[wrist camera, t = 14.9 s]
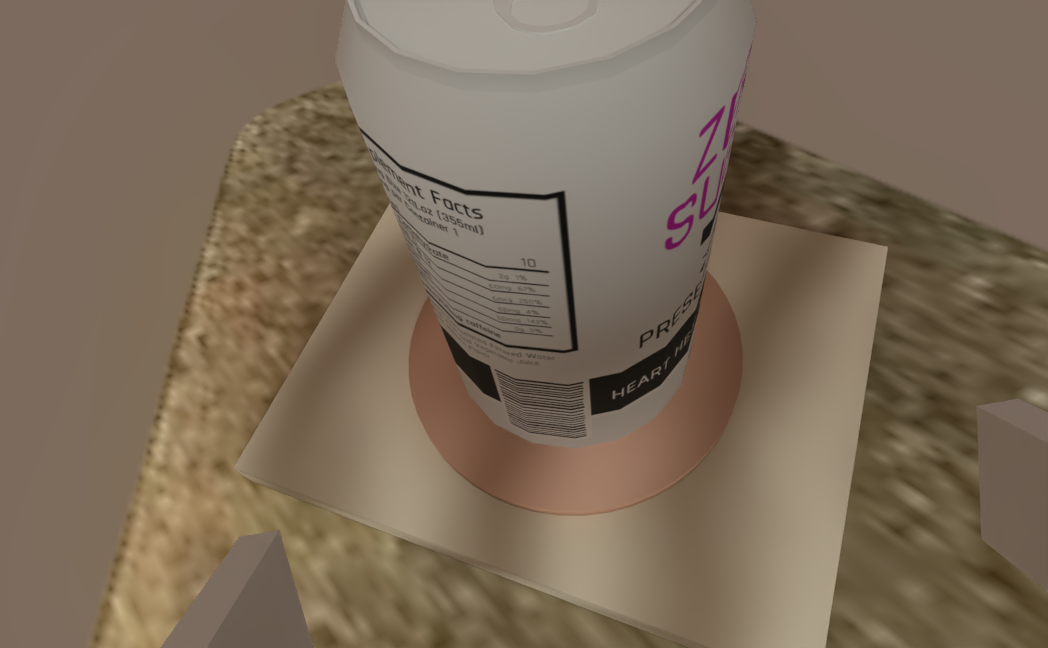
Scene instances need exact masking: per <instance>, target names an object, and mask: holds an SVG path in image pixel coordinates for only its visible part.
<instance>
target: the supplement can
mask: <svg viewBox="0 0 1048 648" xmlns="http://www.w3.org/2000/svg"><path fill="white" fill-rule="evenodd" d="M755 26H756V18H755V15H754V11H753V7H752V3H751V0H346V3H345V9H344V14H343V20H342V25H341V31H340V36H339V41H338V47H337V53H336V58H335V62H336V65H337V67H338V71H339V73H340V76H341V79H342V82H343V85H344V88H345V91H346V94H347V97H348V100H349V103H350V106H351V108H352V111H353V113H354V116H355V118H356V121H357V123H358V126H359V128H360V130H361V133H362V135H363V138H364V140H365V143H366V145H367V148H368V150H369V152H370V155H371V157H372V160H373V162H374V165H375V167H376V170H377V172H378V174H379V177H380V179H381V182H382V184H383V187H384V189H385V192H386V194H387V196H388V199H389V201H390V204H391V206H392V209H393V211H394V214H395V216H396V218H397V221H398V223H399V226H400V228H401V231H402V233H403V236H404V238H405V240H406V243H407V245H408V248H409V250H410V253H411V255H412V258H413V260H414V262H415V265H416V267H417V270H418V272H419V275H420V277H421V280H422V282H423V284H424V287H425V289H426V292H427V294H428V297H429V299H430V302H431V304H432V306H433V309H434V311H435V314H436V316H437V319H438V321H439V324H440V326H441V328H442V331H443V333H444V336H445V338H446V341H447V343H448V346H449V348H450V350H451V353H452V355H453V358H454V360H455V363H456V365H457V368H458V370H459V372H460V375H461V377H462V380H463V382H464V385H465V387H466V390H467V392H468V394H469V396H470V397H471V398H472V399H473V400H474V402H475V403H476V404H477V405H478V406H479V407H480V408H481V409H482V410H483V412H484V413H485V414H486V415H487V416H488V417H489V418H490V419H491V420H492V421H493V423H494V424H496V425H498V426H500V427H502V428H504V429H506V430H507V431H509V432H511V433H513V434H515V435H517V436H519V437H521V438H523V439H525V440H527V441H529V442H531V443H536V444H544V445H552V446H560V447H567V448H575V449H576V448H581V447H586V446H591V445H596V444H600V443H605V442H610V441H615V440H620V439H621V438H623V437H624V436H626V435H628V434H629V433H631V432H633V431H634V430H636V429H638V428H639V427H641V426H643V425H644V424H646V423H648V422H649V421H651V420H653V419H654V418H656V417H657V416H658V414H659V413H660V412H661V411H662V409H663V408H664V407H665V406H666V404H667V403H668V402H669V400H670V399H671V398H672V397H673V395H674V394H675V393H676V391H677V390H678V389H679V388H680V386H681V384H682V381H683V377H684V373H685V370H686V366H687V363H688V359H689V355H690V352H691V348H692V343H693V338H694V333H695V328H696V323H697V318H698V313H699V308H700V303H701V298H702V293H703V287H704V282H705V277H706V272H707V267H708V262H709V257H710V252H711V247H712V242H713V237H714V232H715V227H716V222H717V217H718V212H719V207H720V202H721V197H722V192H723V187H724V182H725V177H726V172H727V167H728V162H729V157H730V152H731V147H732V142H733V137H734V132H735V127H736V122H737V117H738V112H739V107H740V101H741V97H742V92H743V86H744V81H745V76H746V71H747V66H748V61H749V56H750V51H751V46H752V41H753V36H754V31H755Z"/></svg>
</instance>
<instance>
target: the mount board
mask: <svg viewBox="0 0 1048 648" xmlns="http://www.w3.org/2000/svg"><path fill="white" fill-rule="evenodd" d="M887 250H888V247H886V246H881V245H876V244H871V243H867V242H862V241H857V240H852V239H847V238H843V237H838V236H833V235H828V234H824V233H819V232H814V231H809V230H804V229H800V228H795V227H790V226H785V225H781V224H776V223H771V222H766V221H761V220H757V219H752V218H747V217H742V216H738V215H733V214H728V213H723V212H718V217H717V222H716V227H715V232H714V237H713V242H712V247H711V252H710V257H709V262H708V267H707V272H706V277H705V282H704V287H703V293H702V298H701V303H700V308H699V313H698V318H697V323H696V328H695V333H694V338H693V343H692V348H691V352H690V355H689V359H688V363H687V366H686V370H685V373H684V377H683V381H682V384H681V386H680V388H679V389H678V390H677V391H676V393H675V394H674V395H673V397H672V398H671V399H670V400H669V402H668V403H667V404H666V406H665V407H664V408H663V409H662V411H661V412H660V413H659V414H658V416H657V417H656V418H654V419H653V420H651V421H649V422H648V423H646V424H644V425H643V426H641V427H639V428H638V429H636V430H634V431H633V432H631V433H629V434H628V435H626V436H624V437H623V438H621V439H620V440H615V441H610V442H605V443H600V444H596V445H591V446H586V447H581V448H576V449H575V448H567V447H560V446H552V445H544V444H536V443H531V442H529V441H527V440H525V439H523V438H521V437H519V436H517V435H515V434H513V433H511V432H509V431H507V430H506V429H504V428H502V427H500V426H498V425H496V424H494V423H493V421H492V420H491V419H490V418H489V417H488V416H487V415H486V414H485V413H484V412H483V410H482V409H481V408H480V407H479V406H478V405H477V404H476V403H475V402H474V400H473V399H472V398H471V397H470V396H469V394H468V392H467V390H466V387H465V385H464V382H463V380H462V377H461V375H460V372H459V370H458V368H457V365H456V363H455V360H454V358H453V355H452V353H451V350H450V348H449V346H448V343H447V341H446V338H445V336H444V333H443V331H442V328H441V326H440V324H439V321H438V319H437V316H436V314H435V311H434V309H433V306H432V304H431V302H430V299H429V297H428V294H427V292H426V289H425V287H424V284H423V282H422V280H421V277H420V275H419V272H418V270H417V267H416V265H415V262H414V260H413V258H412V255H411V253H410V250H409V248H408V245H407V243H406V240H405V238H404V236H403V233H402V231H401V228H400V226H399V223H398V221H397V218H396V216H395V214H394V211H393V209H392V206H391V204H389V206H388V207H387V209H386V211H385V212H384V214H383V216H382V217H381V219H380V221H379V222H378V224H377V226H376V228H375V229H374V231H373V233H372V234H371V236H370V238H369V239H368V241H367V243H366V244H365V246H364V248H363V250H362V251H361V253H360V255H359V256H358V258H357V260H356V261H355V263H354V265H353V266H352V268H351V270H350V272H349V273H348V275H347V277H346V278H345V280H344V282H343V283H342V285H341V287H340V289H339V290H338V292H337V294H336V295H335V297H334V299H333V300H332V302H331V304H330V305H329V307H328V309H327V311H326V312H325V314H324V316H323V317H322V319H321V321H320V322H319V324H318V326H317V327H316V329H315V331H314V333H313V334H312V336H311V338H310V339H309V341H308V343H307V344H306V346H305V348H304V349H303V351H302V353H301V355H300V356H299V358H298V360H297V361H296V363H295V365H294V366H293V368H292V370H291V372H290V373H289V375H288V377H287V378H286V380H285V382H284V383H283V385H282V387H281V388H280V390H279V392H278V394H277V395H276V397H275V399H274V400H273V402H272V404H271V405H270V407H269V409H268V410H267V412H266V414H265V416H264V417H263V419H262V421H261V422H260V424H259V426H258V427H257V429H256V431H255V432H254V434H253V436H252V438H251V439H250V441H249V443H248V444H247V446H246V448H245V449H244V451H243V453H242V455H241V456H240V458H239V460H238V461H237V463H236V465H235V466H234V469H236V470H237V471H238V472H240V473H241V474H242V475H244V476H245V477H246V478H248V479H249V480H251V481H252V482H254V483H257V484H260V485H262V486H265V487H268V488H270V489H273V490H276V491H278V492H281V493H283V494H286V495H289V496H291V497H294V498H297V499H299V500H302V501H305V502H307V503H310V504H312V505H315V506H318V507H320V508H323V509H326V510H328V511H331V512H333V513H336V514H339V515H341V516H344V517H347V518H349V519H352V520H355V521H357V522H360V523H362V524H365V525H368V526H370V527H373V528H376V529H378V530H381V531H384V532H386V533H389V534H391V535H394V536H397V537H399V538H402V539H405V540H407V541H410V542H413V543H415V544H418V545H420V546H423V547H426V548H428V549H431V550H434V551H436V552H439V553H441V554H444V555H447V556H449V557H452V558H455V559H457V560H460V561H463V562H465V563H468V564H470V565H473V566H476V567H478V568H481V569H484V570H486V571H489V572H492V573H494V574H497V575H499V576H502V577H505V578H507V579H510V580H513V581H515V582H518V583H520V584H523V585H526V586H528V587H531V588H534V589H536V590H539V591H542V592H544V593H547V594H549V595H552V596H555V597H557V598H560V599H563V600H565V601H568V602H571V603H573V604H576V605H578V606H581V607H584V608H586V609H589V610H592V611H594V612H597V613H600V614H602V615H605V616H607V617H610V618H613V619H615V620H618V621H621V622H623V623H626V624H628V625H631V626H634V627H636V628H639V629H642V630H644V631H647V632H650V633H652V634H655V635H657V636H660V637H663V638H665V639H668V640H671V641H673V642H676V643H679V644H681V645H684V646H686V647H689V648H825V645H826V639H827V633H828V626H829V620H830V613H831V607H832V601H833V594H834V588H835V582H836V575H837V569H838V562H839V556H840V550H841V543H842V537H843V531H844V524H845V518H846V511H847V505H848V499H849V492H850V486H851V479H852V473H853V467H854V460H855V454H856V448H857V441H858V435H859V428H860V422H861V416H862V409H863V403H864V396H865V390H866V384H867V377H868V371H869V365H870V358H871V352H872V345H873V339H874V333H875V326H876V320H877V314H878V307H879V301H880V294H881V288H882V282H883V275H884V269H885V262H886V256H887Z"/></svg>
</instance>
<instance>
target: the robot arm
mask: <svg viewBox="0 0 1048 648" xmlns="http://www.w3.org/2000/svg"><path fill="white" fill-rule="evenodd" d="M977 428H978V457H979V485H980V514H981V539H982V540H983V541H984V542H986V543H987V544H988V545H989V546H991V547H992V548H993V549H994V550H996V551H997V552H998V553H999V554H1001V555H1002V556H1003V557H1004V558H1006V559H1007V560H1008V561H1010V562H1011V563H1012V564H1013V565H1015V566H1016V567H1017V568H1018V569H1020V570H1021V571H1022V572H1023V573H1025V574H1026V575H1027V576H1028V577H1030V578H1031V579H1032V580H1033V581H1035V582H1036V583H1037V584H1038V585H1040V586H1041V587H1042V588H1043V589H1045V590H1046V591H1047V592H1048V412H1046V411H1044V410H1042V409H1040V408H1037V407H1035V406H1033V405H1031V404H1029V403H1027V402H1024V401H1022V400H1020V399H1013V400H1007V401H1002V402H996V403H991V404H985V405H979V406H977ZM161 648H313V645H312V642H311V638H310V635H309V631H308V628H307V624H306V621H305V617H304V614H303V610H302V607H301V604H300V600H299V597H298V593H297V590H296V586H295V583H294V579H293V576H292V572H291V569H290V565H289V562H288V558H287V555H286V552H285V548H284V545H283V541H282V538H281V534H280V531H279V530H277V531H271V532H266V533H260V534H254V535H249V536H243V537H239V538H238V540H237V541H236V543H235V544H234V545H233V547H232V548H231V550H230V551H229V552H228V554H227V555H226V557H225V558H224V559H223V561H222V562H221V564H220V565H219V566H218V568H217V569H216V571H215V572H214V573H213V575H212V576H211V578H210V579H209V581H208V582H207V583H206V585H205V586H204V588H203V589H202V590H201V592H200V593H199V595H198V596H197V597H196V599H195V600H194V602H193V603H192V604H191V606H190V607H189V609H188V610H187V611H186V613H185V614H184V616H183V617H182V618H181V620H180V621H179V623H178V624H177V625H176V627H175V628H174V630H173V631H172V632H171V634H170V635H169V637H168V638H167V639H166V641H165V642H164V644H163V645H162V647H161Z"/></svg>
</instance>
